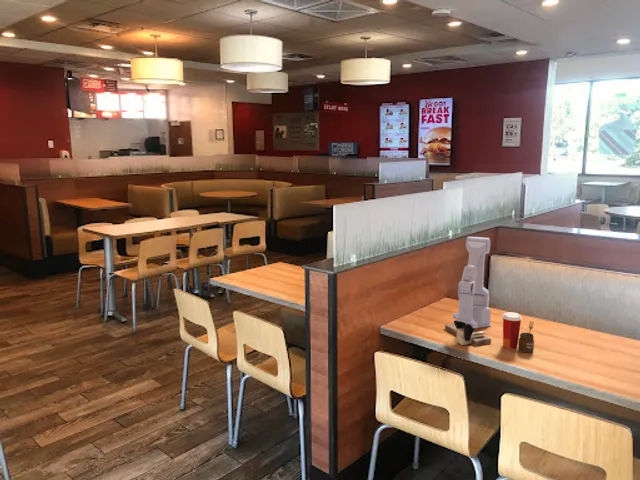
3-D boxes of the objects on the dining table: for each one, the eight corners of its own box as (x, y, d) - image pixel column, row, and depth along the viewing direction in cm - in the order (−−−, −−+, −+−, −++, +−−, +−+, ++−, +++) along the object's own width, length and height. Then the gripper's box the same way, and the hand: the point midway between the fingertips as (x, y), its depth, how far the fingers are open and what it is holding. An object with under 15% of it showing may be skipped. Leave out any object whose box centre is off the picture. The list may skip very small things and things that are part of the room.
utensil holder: (515, 350, 212) (517, 322, 210) (523, 346, 215) (525, 319, 213) (528, 354, 207) (530, 326, 205) (536, 350, 211) (538, 323, 209)
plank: (459, 326, 240) (459, 322, 239) (490, 343, 219) (491, 338, 219) (445, 328, 237) (445, 324, 236) (475, 345, 216) (475, 341, 216)
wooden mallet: (481, 337, 225) (481, 324, 224) (487, 340, 221) (487, 327, 220) (456, 341, 220) (457, 328, 219) (462, 345, 216) (462, 331, 215)
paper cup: (520, 344, 217) (522, 313, 215) (519, 351, 211) (521, 318, 208) (501, 341, 221) (503, 310, 218) (499, 348, 214) (501, 316, 211)
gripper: (447, 304, 222) (446, 334, 224) (468, 314, 208) (467, 346, 211) (461, 302, 224) (459, 332, 226) (482, 312, 211) (480, 343, 213)
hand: (464, 338), depth 219 cm, fingers closed on wooden mallet, 4 cm apart
